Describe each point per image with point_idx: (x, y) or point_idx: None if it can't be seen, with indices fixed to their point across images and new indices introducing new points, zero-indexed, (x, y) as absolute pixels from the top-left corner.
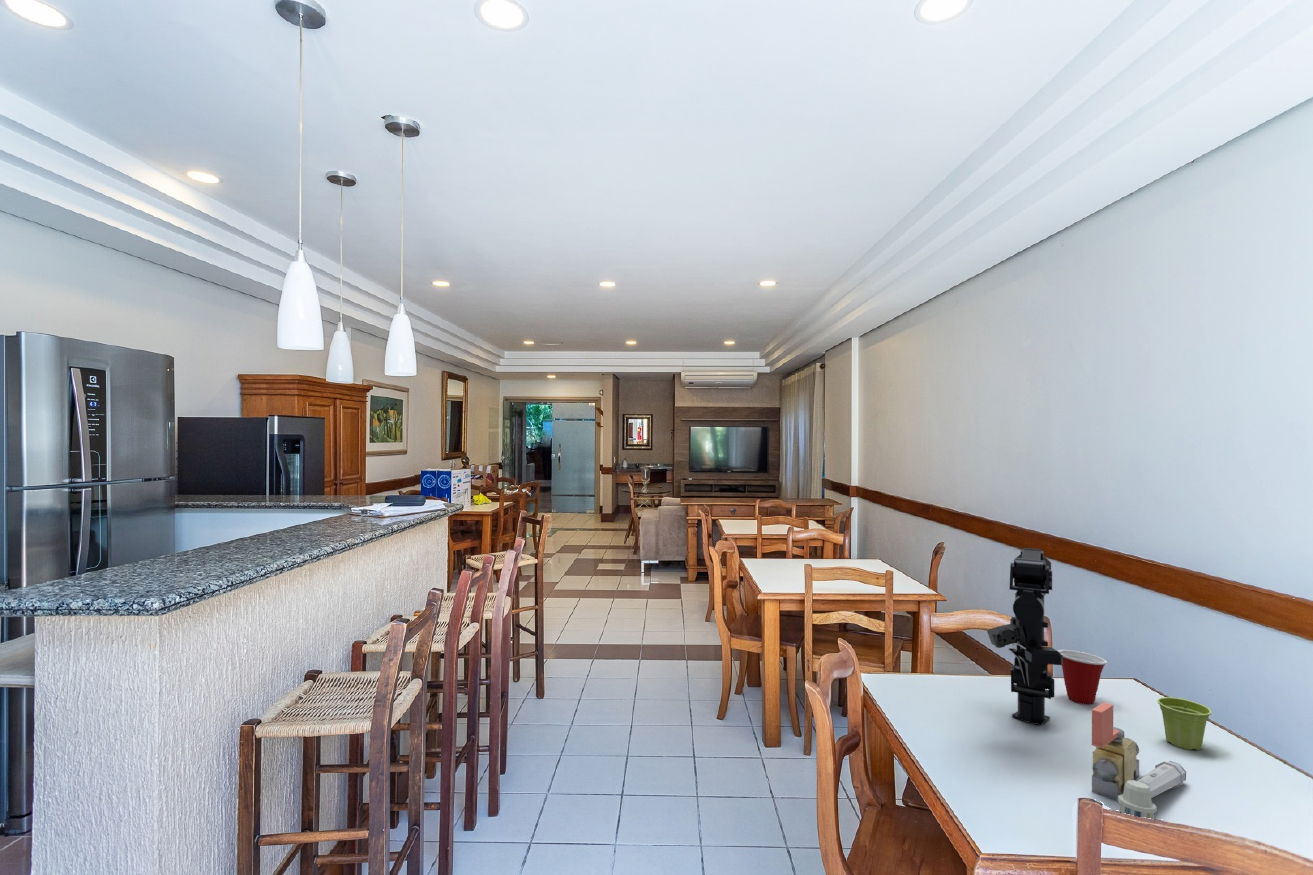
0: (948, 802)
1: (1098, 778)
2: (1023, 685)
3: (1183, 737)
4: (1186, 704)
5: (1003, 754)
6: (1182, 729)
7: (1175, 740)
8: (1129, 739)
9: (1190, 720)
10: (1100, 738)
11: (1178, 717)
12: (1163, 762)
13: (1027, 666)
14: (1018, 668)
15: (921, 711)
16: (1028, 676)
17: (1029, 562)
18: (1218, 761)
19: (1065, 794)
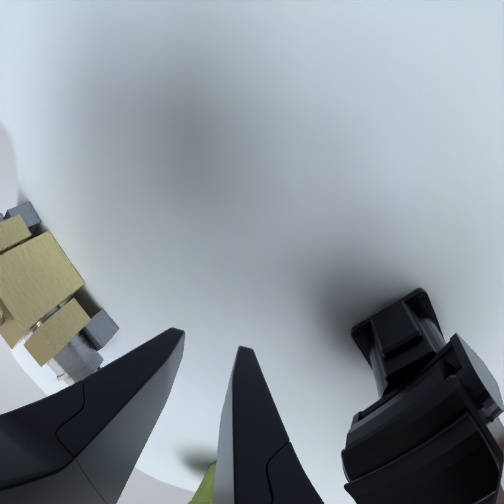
0: None
1: (5, 216)
2: (415, 382)
3: (207, 476)
4: None
5: (165, 81)
6: (203, 486)
7: None
8: (75, 381)
9: (190, 501)
10: None
11: (199, 500)
12: (64, 374)
13: (17, 411)
14: (455, 430)
15: (480, 28)
16: (108, 364)
17: None
18: (177, 461)
19: (20, 142)
